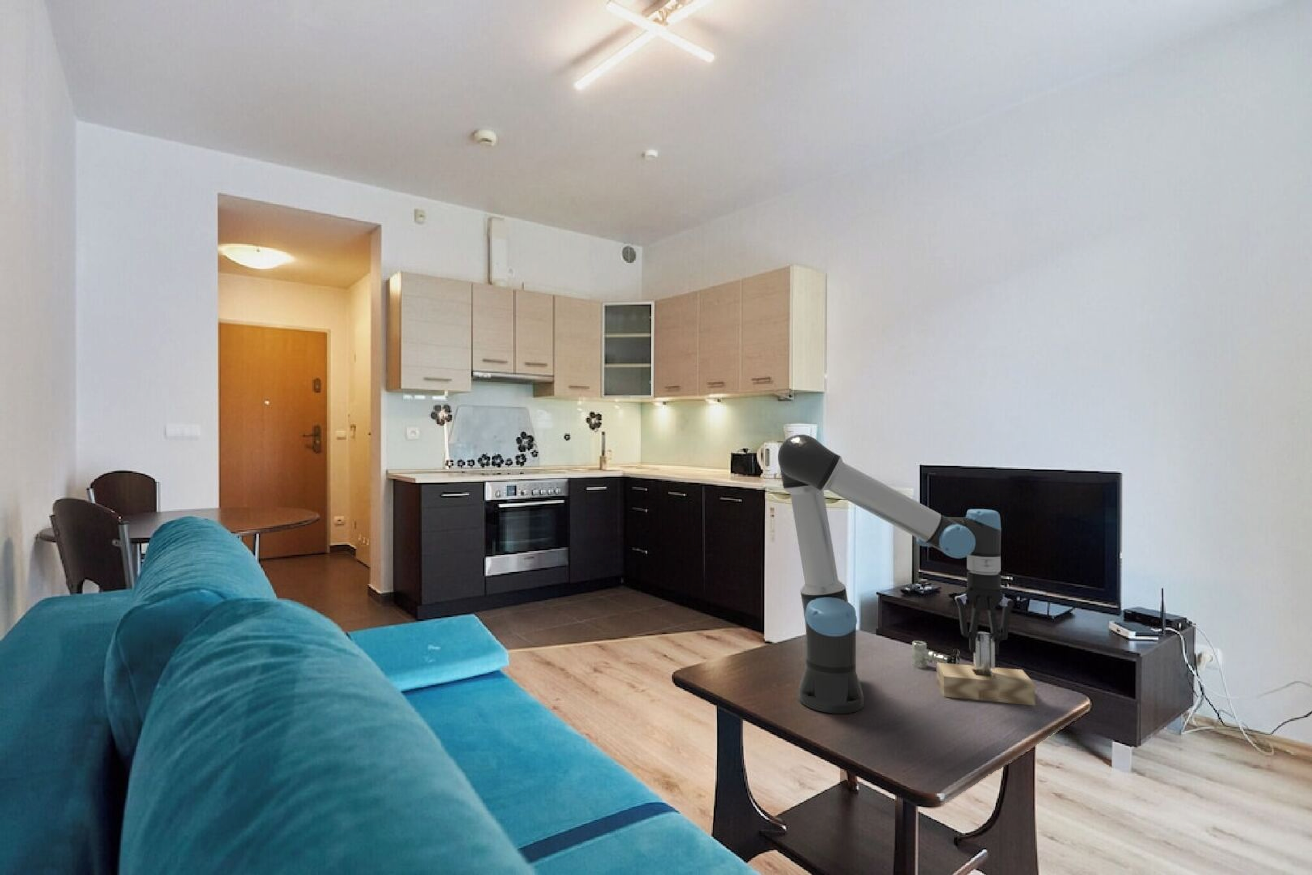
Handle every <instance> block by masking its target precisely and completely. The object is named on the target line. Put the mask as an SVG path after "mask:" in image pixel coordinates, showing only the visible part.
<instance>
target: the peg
mask: <svg viewBox="0 0 1312 875" xmlns="http://www.w3.org/2000/svg"><path fill="white" fill-rule="evenodd" d="M976 638H977V640H979V642H980V668H977V673H978V676H990V677H991V639H992V635H991V632H986V631H977V637H976Z"/></svg>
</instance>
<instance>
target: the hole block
mask: <svg viewBox="0 0 1312 875" xmlns="http://www.w3.org/2000/svg"><path fill="white" fill-rule="evenodd" d="M936 683H937V685H938V687H939V689H940V692H941V693H942V695H943V697H944V698H954V699H964V700H965V699H966V700H972V701H973V700H974V701H985V702H993V703H994V702H996V703H1005V704H1006V703H1007V704H1016V705H1017V704H1018V705H1027V706H1036V684H1035V682H1034V681H1033V680H1032V679H1031V678H1030V677H1029V676H1028V675H1027V673H1026V672H1025V671H1024V670H1023V669H1017V668H1005V667H995V669H991V677H990V676H978V673H977V667H976V666H975V665H969V664H960V663H959V664H949V663H947V662H945V663H944V662H936Z"/></svg>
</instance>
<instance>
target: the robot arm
mask: <svg viewBox="0 0 1312 875" xmlns="http://www.w3.org/2000/svg"><path fill="white" fill-rule="evenodd" d="M842 458H843V457H842V456H841V455H839V454H837V453H835V452H834V451H832V450H830V449H828V448H827V447H826V446H825V445H823V444H822V443H821V442H820V441H819V440H817V439H816V438H814V437H812V436H811V435H809V434H795V435H792V436H790V437H788V438H786V439H785V440H784V441H783V442H782V443H781V445H780V446H779V449H778V454H777V461H778V465H779V469H780V475H781V482H782V488H783V490H784V491H786V492H787V493H788V494H789V495H790V499H791V505H792V507H791V508H792V512H793V518H794V525H795V530H796V537H797V543H798V549H799V555H800V560H801V567H802V573H803V580H804V584H803V586H802V587H801V588H800V595H801V597H800V598H801V602H802V609H803V617H804V624H805V669H804V671H803V673H802V676H801V680H800V682H799V686H798V690H797V691H798V693H797V694H798V696H797V698H798V700H799V702H800V703H801V704H802V705H804V706H806V707H807V708H809V709H812V710H815V711H819V712H823V713H828V714H841V715H842V714H850V713H851V714H852V713H855V712H858V711H859V710H861V709H862V708H863V707H864V703H865V702H864V693H863V690H862V685H861V683H860V680H859V677H858V674H857V662H856V661H857V631H856V630H857V623H858V618H857V613H856V612H857V610H856V609H855V607H854V605H853V604H852V603H850V602H849V600H848V593H847V588H846V585H845V584H844V583H843V582H842V581H840V579H839V576H838V569H837V564H836V558H835V552H834V546H833V541H832V534H831V528H830V522H829V516H828V509H827V504H826V499H825V492H824V491H829V492H830V493H833V494H835V495H836V496H839V497H841V498H843V499H844V500H847V502H850V503H851V504H854V505H856V506H857V507H859V508H861V509H863V510H865V511H867V512H868V513H870V514H872V515H874V516H876V517H878V518H879V519H881V520H883V521H885V522H887V523H889V524H891V525H893V526H894V527H896V528H899V529H900V530H901V531H904V532H906V533H908V534H909V535H911V536H912V537H914V538H916V543H917V544H918V545H919V546H921V547H928V548H931V547H932V548H935V549H937V550H938V551H940V552H942V553H943V554H944V555H946V556H949V557H950V558H954V559H964V558H966V569H967V570H968V571H967V572H966V589H965V591H964V593H963V594H961V595H955V596H954V600H955V602H956V604H957V608H958V609H957V610H958V617H959V626H960V627H959V628H960V633H961V635H962V636H963V637H964V638H968V641H969V642H968V647H969V651H970V653H973V666H976V667H977V668H980V642H979V640H977V632H978V629H979V623H980V616H981V611H983V610H986V611H987V613H988V614H987V615H988V622H989V628H990V634H991V669H995V668H996V666H995V665H996V664H995V663H996V656H995V655H999V654H1000V643H1001V641H1006V640H1008V638H1009V631H1010V630H1009V628H1010V622H1011V613H1012V609H1013V607H1014V606H1015V602H1014V601H1013V600H1012V599H1011V598H1007V597H1005V596H1004V594H1003V593H1002V576H1001V574H1000V572H1001V571H1002V570H1001V567H1002V566H1001V565H1002V561H1001V556H1002V555H1001V547H1002V546H1001V542H1002V540H1001V539H1002V526H1001V525H1002V524H1001V523H1002V522H1001V516H1000V513H999V512H998V511H996V510H993V509H985V508H974V509H973V508H970V509H968V510H967V512H966V515H965V516H963V517H961V516H960V517H957V516H955V517H952V516H951V517H950V516H948V517H947V516H946V515H942V514H941V513H939V512H937V511H935V510H934V509H931V507H930V508H929V507H928V506H926V505H924V504H922V503H920V502H919V501H917V500H915V499H913V498H911V497H909V496H907V495H905V494H903V493H902V492H900V491H898V490H897V489H894V488H892V487H890V486H888V485H887V484H885V483H883V482H881V481H879V480H877V479H875V478H873V477H872V476H870V475H868V474H866V473H864V472H862V471H860V470H858V469H856V468H854V467H852V466H850V465H849V464H847V463H845V462H844V461H843V459H842ZM967 600H968V602H969V603H970V605H972V607H971V616H970V623H969V624H970V625H969V628H968V620H967V612H966V606H965V605H966V604H967ZM1000 603H1001V605H1002V610H1001V616H1000V618H1001V619H1000V628H999V626H998V619H997V610H996V608H997V607H998V605H999V604H1000ZM968 629H969V630H968Z"/></svg>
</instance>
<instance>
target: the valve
mask: <svg viewBox="0 0 1312 875" xmlns="http://www.w3.org/2000/svg"><path fill="white" fill-rule="evenodd" d="M927 646H928V645H927V643H926V641H922V640H913V641H912V642H911V647H912V649H911V652H910V654H911V665H912V666H913V668H917V669H927V667H928V666H927V665H928V663H927V661H928V662H929V663H932V664H933V663H934V662H936V661H937V663H944V662H945V663H949V664H960V661H961V656H960V650H959V649H957V648H954V649H953V652H954V653H952V654H951V655H948V656H947V657H945V656H944V655H941V654H936V653H935V652H934V651H933V650H929V651H927Z"/></svg>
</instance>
